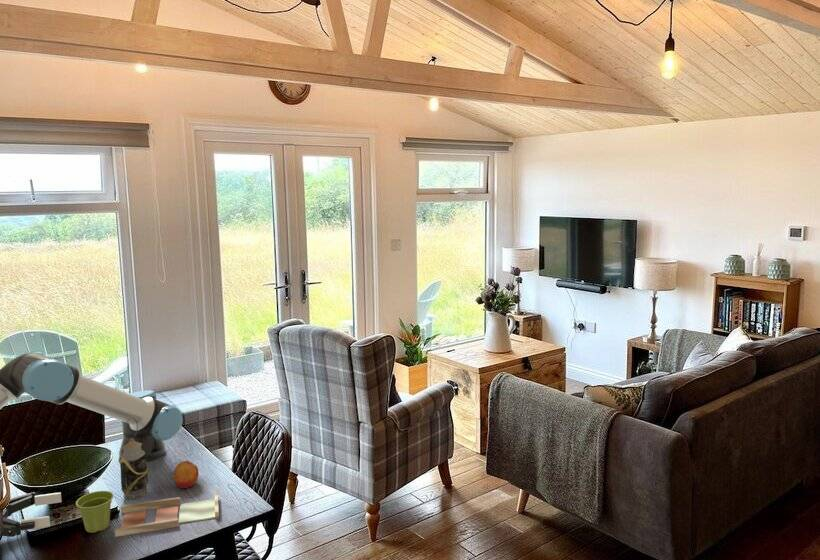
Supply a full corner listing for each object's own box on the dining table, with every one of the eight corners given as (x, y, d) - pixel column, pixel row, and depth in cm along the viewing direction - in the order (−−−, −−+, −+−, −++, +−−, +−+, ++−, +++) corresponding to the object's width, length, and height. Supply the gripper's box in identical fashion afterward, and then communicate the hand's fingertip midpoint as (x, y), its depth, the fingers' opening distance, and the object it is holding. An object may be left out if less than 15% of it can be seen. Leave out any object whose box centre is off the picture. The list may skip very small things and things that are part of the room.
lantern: (133, 487, 200) (127, 412, 196) (155, 489, 199) (150, 414, 195) (115, 500, 192) (109, 423, 188) (139, 502, 190) (133, 424, 186)
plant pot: (100, 538, 171) (98, 508, 170) (71, 534, 173) (68, 505, 172) (122, 520, 180) (120, 492, 179) (94, 517, 182) (91, 489, 181)
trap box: (121, 511, 185) (121, 505, 185) (218, 497, 193) (217, 491, 193) (115, 536, 172) (114, 530, 171) (218, 520, 180) (218, 513, 180)
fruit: (205, 482, 203) (203, 459, 201) (186, 494, 195) (185, 470, 194) (186, 478, 206) (185, 455, 205) (168, 489, 199) (166, 465, 197)
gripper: (-17, 511, 178) (66, 500, 185) (-51, 560, 155) (45, 545, 161) (-20, 486, 177) (64, 476, 184) (-54, 532, 154) (42, 518, 160)
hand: (55, 508), depth 172 cm, fingers open, 13 cm apart
